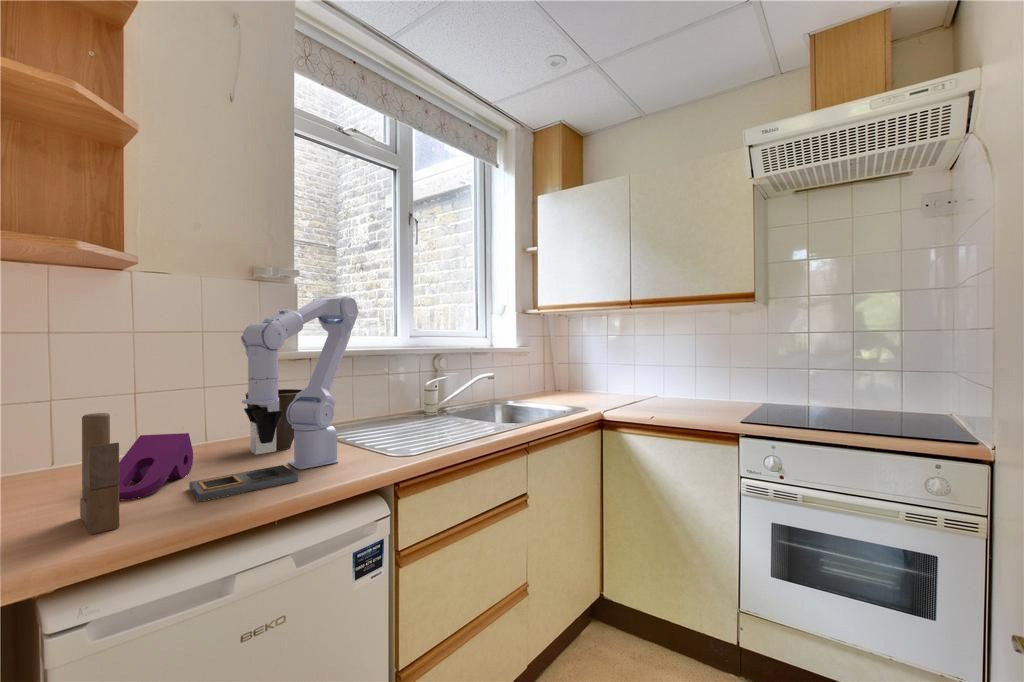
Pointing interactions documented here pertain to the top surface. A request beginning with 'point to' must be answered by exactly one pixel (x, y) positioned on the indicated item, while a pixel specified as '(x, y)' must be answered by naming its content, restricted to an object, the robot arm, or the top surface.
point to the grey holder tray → (242, 482)
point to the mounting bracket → (154, 463)
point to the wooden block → (99, 475)
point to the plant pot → (283, 419)
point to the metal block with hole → (256, 443)
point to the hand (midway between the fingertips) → (263, 440)
